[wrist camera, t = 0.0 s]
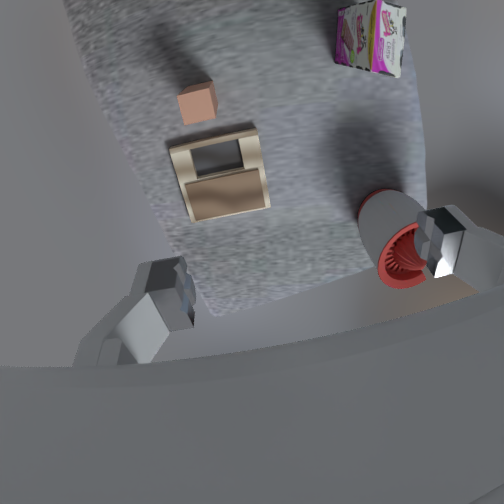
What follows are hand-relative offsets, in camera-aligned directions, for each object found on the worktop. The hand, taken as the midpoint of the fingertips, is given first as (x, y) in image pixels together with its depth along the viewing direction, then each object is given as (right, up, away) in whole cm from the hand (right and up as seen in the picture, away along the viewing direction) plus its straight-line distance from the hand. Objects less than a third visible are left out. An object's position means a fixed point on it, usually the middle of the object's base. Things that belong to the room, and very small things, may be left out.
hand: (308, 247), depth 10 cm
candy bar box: (+15, +37, +34) cm, 53 cm away
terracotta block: (-10, +27, +39) cm, 49 cm away
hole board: (-8, +14, +48) cm, 51 cm away
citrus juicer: (+27, +9, +56) cm, 63 cm away
